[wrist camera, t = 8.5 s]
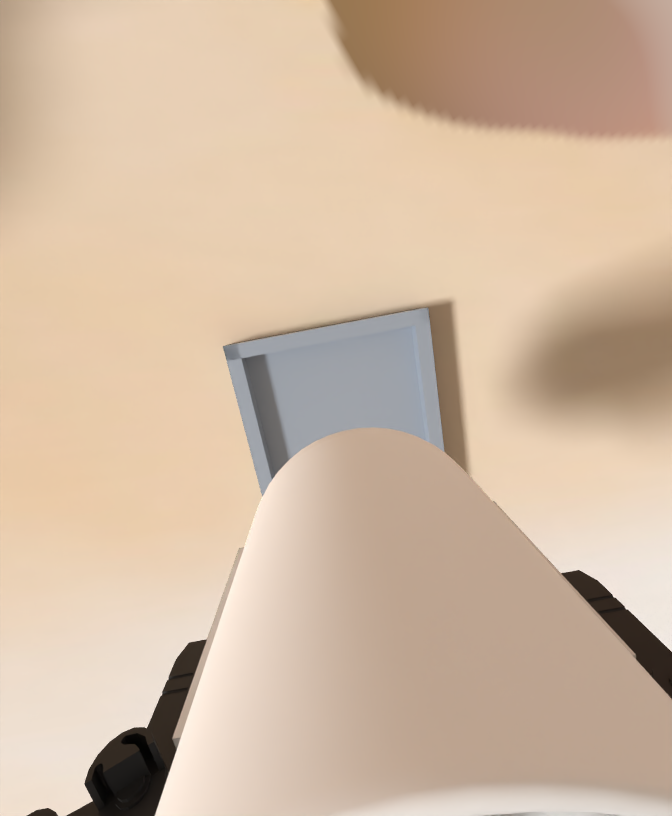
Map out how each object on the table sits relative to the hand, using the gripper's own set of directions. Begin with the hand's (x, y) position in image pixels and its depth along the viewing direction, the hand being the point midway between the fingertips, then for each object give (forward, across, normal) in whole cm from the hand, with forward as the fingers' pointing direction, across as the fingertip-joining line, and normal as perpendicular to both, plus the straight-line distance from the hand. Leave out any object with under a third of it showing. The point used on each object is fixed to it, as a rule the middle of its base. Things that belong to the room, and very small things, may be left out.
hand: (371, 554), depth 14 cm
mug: (+1, +1, 0) cm, 1 cm away
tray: (+14, 0, 0) cm, 14 cm away
